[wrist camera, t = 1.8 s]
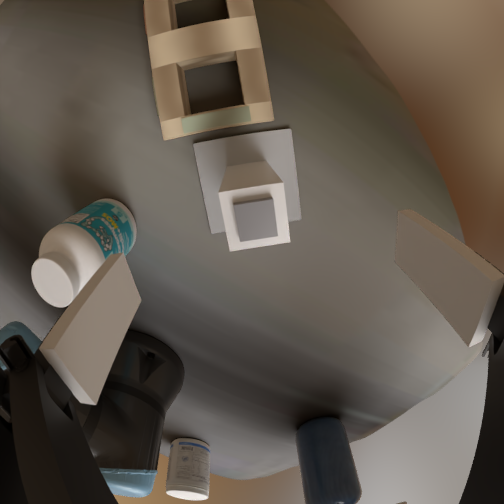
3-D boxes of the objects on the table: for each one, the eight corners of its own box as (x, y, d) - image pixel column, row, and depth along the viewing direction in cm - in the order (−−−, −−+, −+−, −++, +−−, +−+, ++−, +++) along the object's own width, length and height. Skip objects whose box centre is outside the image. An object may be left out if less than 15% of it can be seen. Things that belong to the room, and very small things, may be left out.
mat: (211, 232, 31) (211, 233, 31) (193, 143, 27) (193, 144, 26) (300, 218, 31) (301, 219, 30) (289, 128, 26) (290, 128, 26)
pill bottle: (145, 250, 32) (100, 321, 19) (95, 257, 32) (41, 321, 20) (130, 190, 28) (67, 236, 16) (79, 202, 29) (9, 249, 16)
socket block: (171, 139, 26) (159, 141, 23) (150, -1, 19) (139, -16, 15) (269, 121, 26) (274, 120, 22) (243, -20, 18) (244, -38, 15)
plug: (233, 203, 29) (229, 255, 18) (227, 166, 28) (217, 194, 16) (271, 197, 29) (291, 245, 18) (265, 160, 27) (284, 184, 16)
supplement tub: (193, 454, 56) (189, 501, 43) (163, 441, 53) (156, 491, 40) (219, 446, 54) (218, 498, 40) (188, 433, 50) (182, 489, 37)
